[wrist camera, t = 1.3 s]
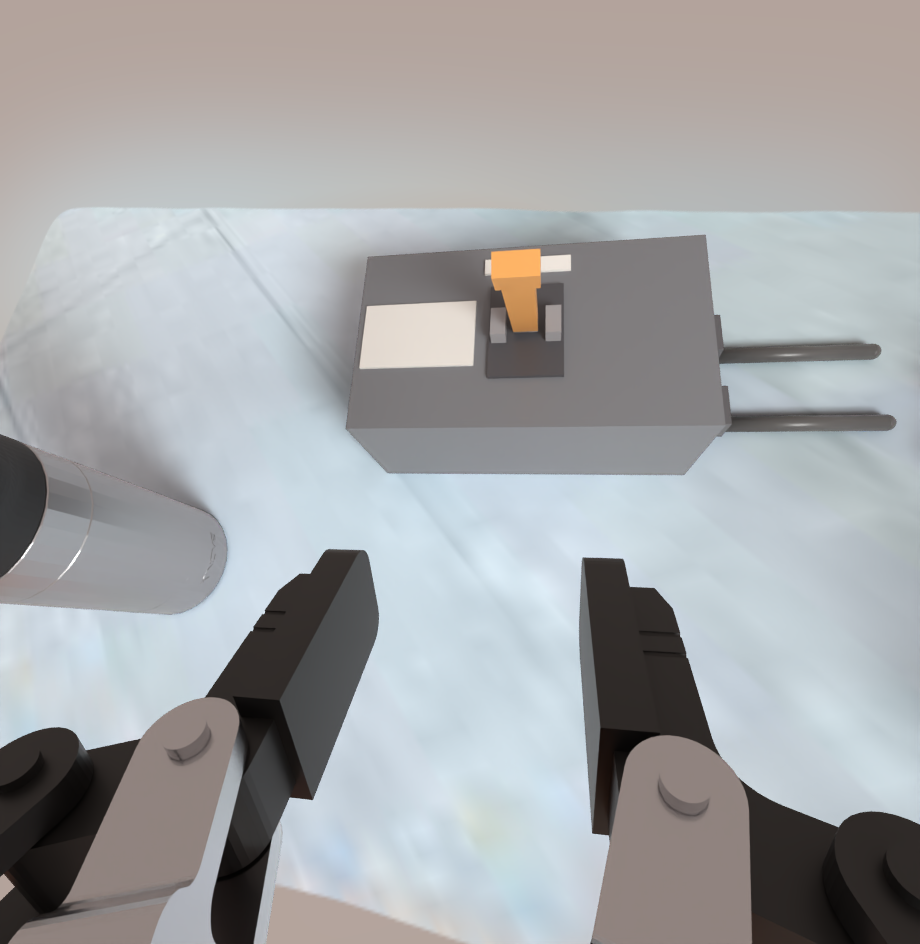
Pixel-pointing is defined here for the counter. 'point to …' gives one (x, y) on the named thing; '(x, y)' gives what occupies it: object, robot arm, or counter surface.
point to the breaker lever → (518, 285)
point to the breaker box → (557, 364)
